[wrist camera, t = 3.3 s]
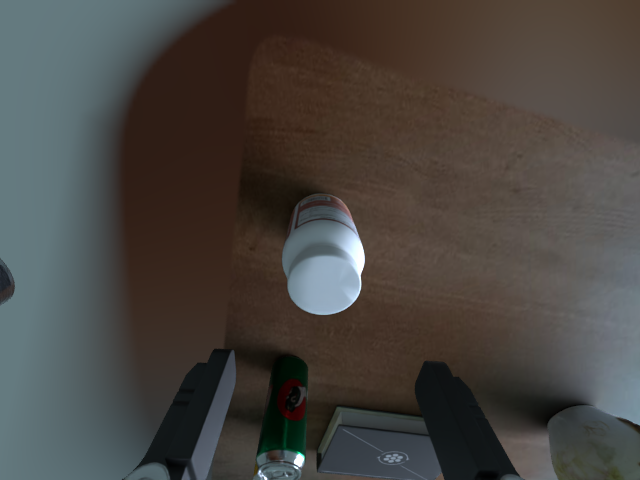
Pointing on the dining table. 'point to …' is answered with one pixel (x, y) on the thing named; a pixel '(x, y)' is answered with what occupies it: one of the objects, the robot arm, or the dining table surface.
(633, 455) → the sugar bowl
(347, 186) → the dining table surface
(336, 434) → the book
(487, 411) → the dining table surface
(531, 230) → the dining table surface
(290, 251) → the pill bottle
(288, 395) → the soda can
